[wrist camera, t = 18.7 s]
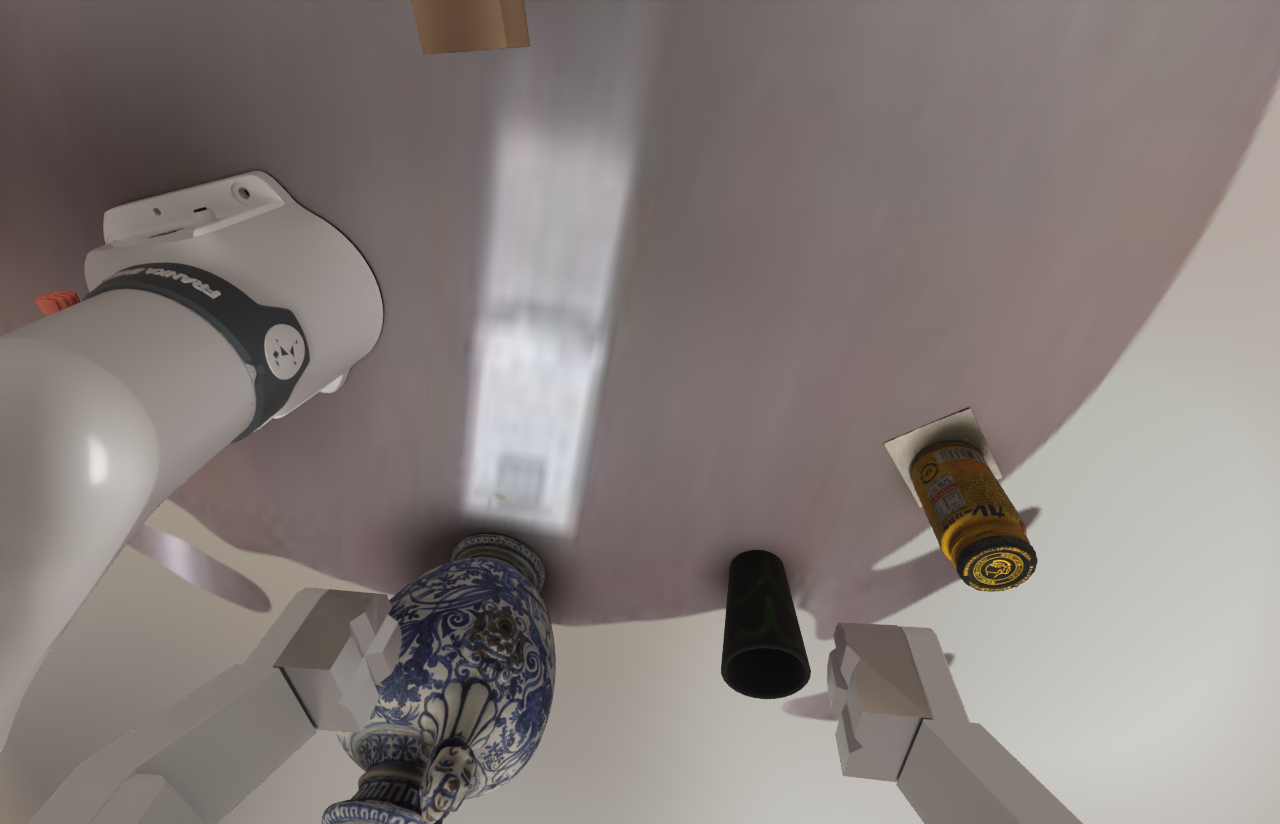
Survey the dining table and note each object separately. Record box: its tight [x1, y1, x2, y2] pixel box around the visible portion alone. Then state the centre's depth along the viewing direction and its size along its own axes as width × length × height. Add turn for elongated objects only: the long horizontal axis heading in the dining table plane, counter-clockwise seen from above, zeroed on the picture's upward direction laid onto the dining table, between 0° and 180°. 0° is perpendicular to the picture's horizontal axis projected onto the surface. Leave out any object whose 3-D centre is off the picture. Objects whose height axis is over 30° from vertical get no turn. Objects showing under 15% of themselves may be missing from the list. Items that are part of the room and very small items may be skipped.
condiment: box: [884, 409, 1037, 591], centre depth 47 cm, size 7×8×12 cm
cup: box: [721, 550, 811, 699], centre depth 56 cm, size 8×8×12 cm
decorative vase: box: [322, 533, 556, 824], centre depth 54 cm, size 21×19×28 cm
